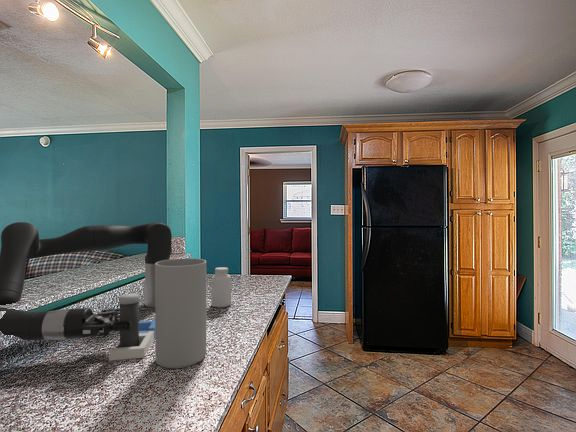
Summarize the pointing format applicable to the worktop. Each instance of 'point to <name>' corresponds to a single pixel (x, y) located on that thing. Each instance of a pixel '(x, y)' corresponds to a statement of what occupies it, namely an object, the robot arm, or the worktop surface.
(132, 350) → the blue grey comb bracket
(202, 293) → the cylinder vase
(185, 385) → the worktop surface
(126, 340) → the grey capped cylinder
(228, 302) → the pill bottle
